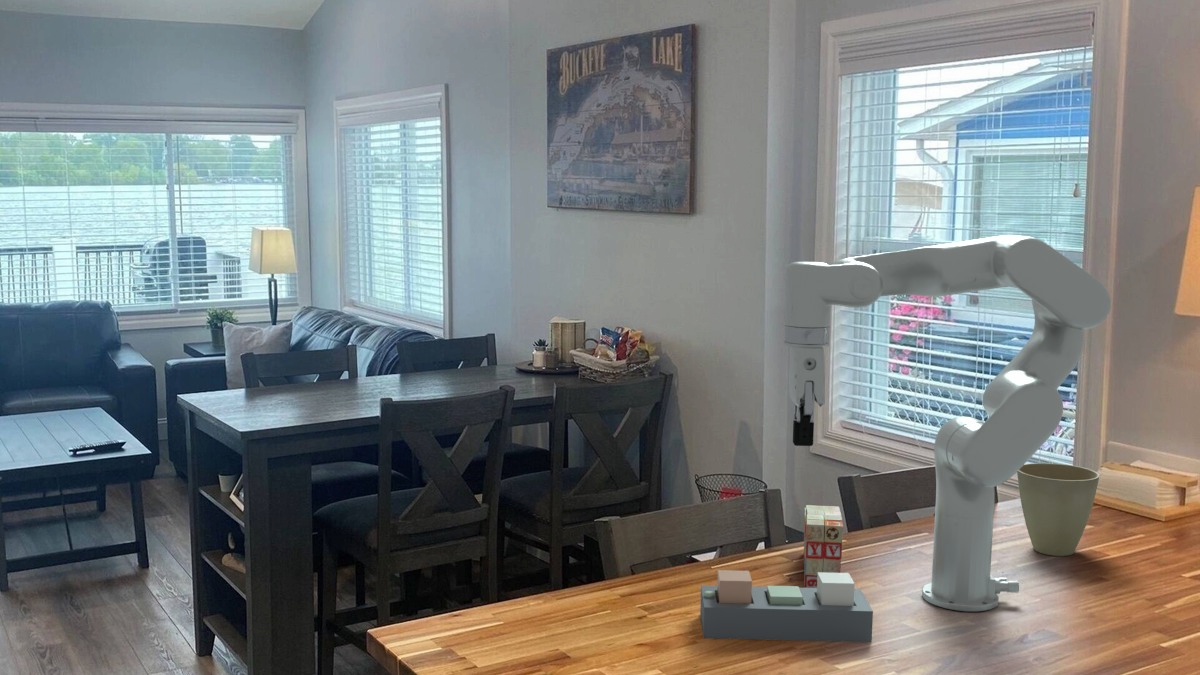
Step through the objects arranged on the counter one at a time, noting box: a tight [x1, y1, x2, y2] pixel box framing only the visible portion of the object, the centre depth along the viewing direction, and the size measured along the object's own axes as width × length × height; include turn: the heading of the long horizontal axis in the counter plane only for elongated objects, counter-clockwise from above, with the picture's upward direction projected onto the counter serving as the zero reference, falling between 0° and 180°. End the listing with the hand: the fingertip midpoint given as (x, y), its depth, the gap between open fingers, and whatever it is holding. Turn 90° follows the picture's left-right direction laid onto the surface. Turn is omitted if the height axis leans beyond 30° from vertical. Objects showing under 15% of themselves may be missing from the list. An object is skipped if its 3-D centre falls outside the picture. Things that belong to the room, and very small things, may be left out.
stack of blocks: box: [803, 504, 844, 588], centre depth 210 cm, size 21×6×12 cm, turn 171°
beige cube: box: [716, 569, 753, 604], centre depth 183 cm, size 5×5×5 cm
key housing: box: [699, 585, 874, 643], centre depth 183 cm, size 26×10×6 cm, turn 88°
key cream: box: [817, 572, 855, 606], centre depth 182 cm, size 5×5×5 cm
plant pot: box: [1016, 462, 1101, 557], centre depth 224 cm, size 15×15×16 cm
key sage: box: [766, 585, 803, 605], centre depth 183 cm, size 5×5×5 cm
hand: (802, 444), depth 193 cm, fingers closed
